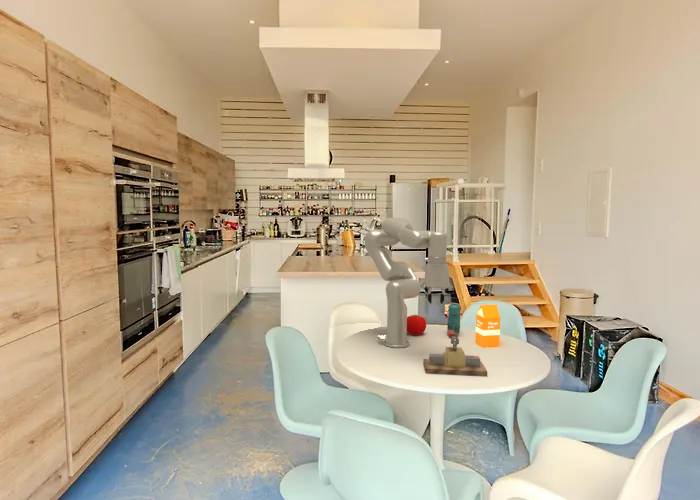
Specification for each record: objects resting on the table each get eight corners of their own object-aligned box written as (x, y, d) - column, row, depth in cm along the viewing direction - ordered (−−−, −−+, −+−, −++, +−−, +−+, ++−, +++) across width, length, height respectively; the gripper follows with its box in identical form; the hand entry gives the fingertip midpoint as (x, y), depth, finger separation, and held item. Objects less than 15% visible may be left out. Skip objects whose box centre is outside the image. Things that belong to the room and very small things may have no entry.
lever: (451, 344, 178) (451, 338, 178) (446, 334, 194) (446, 327, 194) (459, 345, 178) (459, 338, 177) (453, 334, 194) (454, 328, 193)
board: (425, 373, 175) (425, 368, 175) (423, 363, 187) (423, 358, 187) (487, 376, 173) (487, 371, 173) (480, 366, 185) (481, 361, 185)
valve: (430, 366, 178) (430, 345, 177) (428, 361, 184) (429, 341, 183) (480, 368, 176) (481, 347, 175) (477, 363, 182) (478, 343, 182)
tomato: (406, 337, 227) (406, 317, 226) (401, 331, 238) (402, 312, 237) (428, 337, 228) (429, 317, 227) (423, 331, 239) (424, 312, 238)
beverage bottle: (445, 333, 234) (446, 296, 232) (457, 333, 235) (459, 296, 233) (449, 337, 228) (450, 299, 226) (461, 337, 228) (463, 299, 227)
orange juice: (499, 347, 212) (501, 306, 210) (482, 348, 210) (484, 306, 209) (491, 342, 220) (492, 302, 218) (474, 343, 218) (476, 303, 216)
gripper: (417, 261, 185) (416, 304, 187) (458, 262, 184) (456, 305, 185) (416, 259, 193) (415, 300, 194) (455, 260, 191) (454, 302, 193)
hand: (435, 302), depth 190 cm, fingers open, 4 cm apart
